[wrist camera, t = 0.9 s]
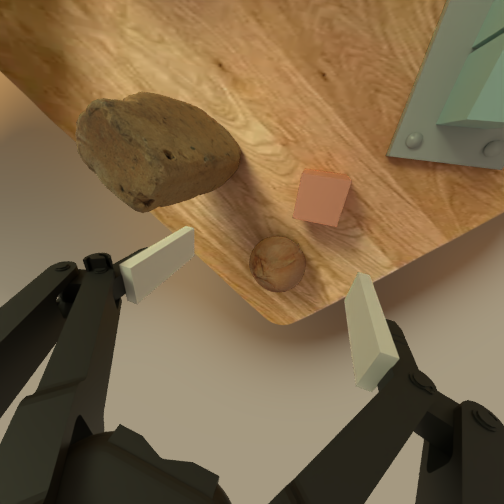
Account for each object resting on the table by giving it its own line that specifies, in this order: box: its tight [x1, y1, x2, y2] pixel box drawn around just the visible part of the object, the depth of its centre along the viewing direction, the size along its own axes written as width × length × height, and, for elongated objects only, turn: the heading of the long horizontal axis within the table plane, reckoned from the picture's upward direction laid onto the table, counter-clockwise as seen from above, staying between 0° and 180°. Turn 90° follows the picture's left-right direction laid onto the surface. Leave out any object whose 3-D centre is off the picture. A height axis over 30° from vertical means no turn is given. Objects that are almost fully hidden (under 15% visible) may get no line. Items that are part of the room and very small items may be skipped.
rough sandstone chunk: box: [76, 92, 241, 213], centre depth 25 cm, size 11×8×20 cm
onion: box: [249, 236, 306, 292], centre depth 35 cm, size 10×9×10 cm
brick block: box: [293, 169, 352, 227], centre depth 29 cm, size 6×6×6 cm
